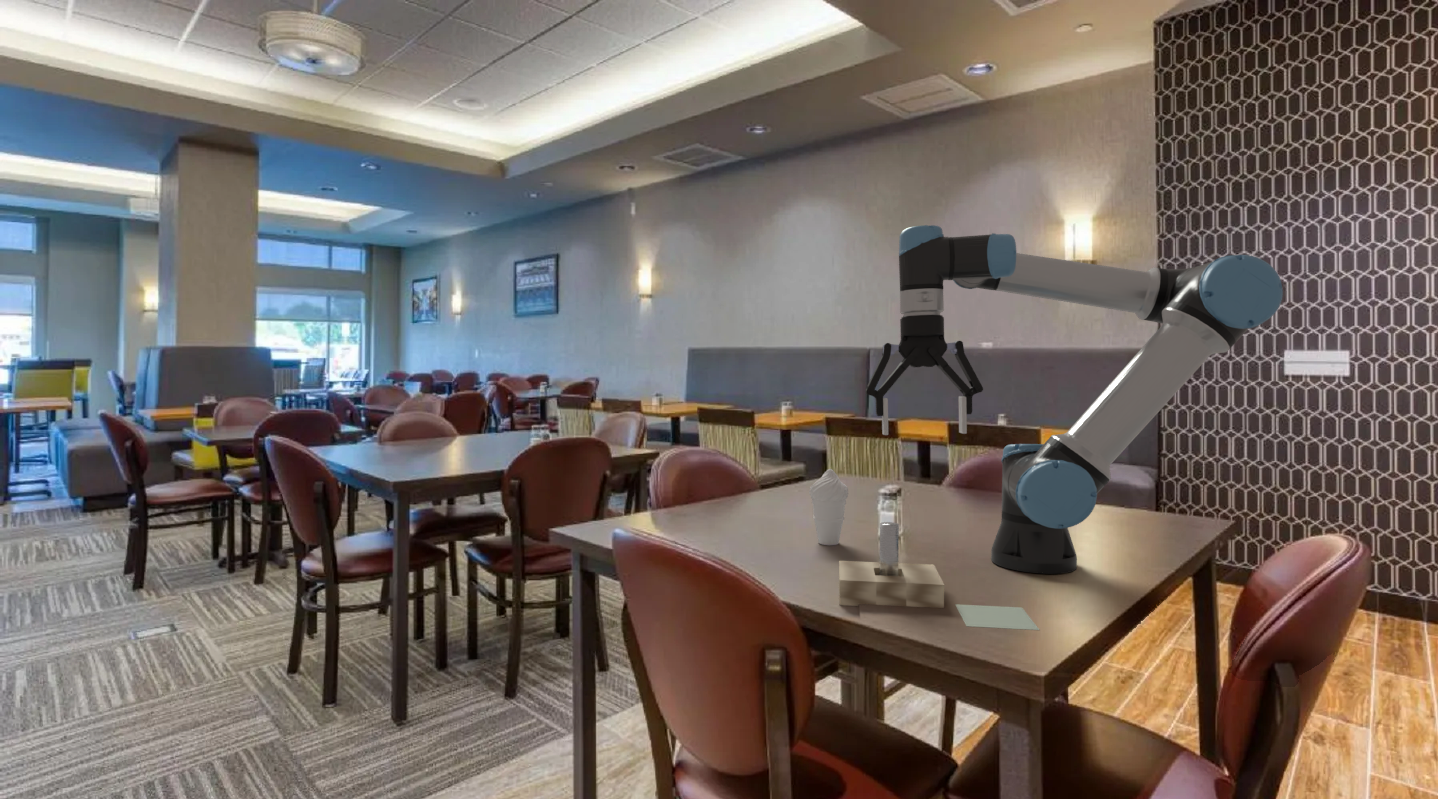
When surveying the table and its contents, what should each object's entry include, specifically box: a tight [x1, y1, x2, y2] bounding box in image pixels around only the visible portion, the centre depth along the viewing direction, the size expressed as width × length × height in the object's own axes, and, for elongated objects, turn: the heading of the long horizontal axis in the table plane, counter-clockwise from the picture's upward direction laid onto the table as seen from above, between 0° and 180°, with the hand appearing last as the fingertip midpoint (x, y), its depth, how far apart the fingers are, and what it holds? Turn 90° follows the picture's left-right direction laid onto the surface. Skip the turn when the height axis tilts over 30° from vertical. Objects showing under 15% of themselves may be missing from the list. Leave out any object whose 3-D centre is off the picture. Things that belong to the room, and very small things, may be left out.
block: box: [838, 560, 945, 609], centre depth 122 cm, size 16×12×4 cm
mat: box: [954, 603, 1040, 631], centre depth 111 cm, size 10×10×1 cm
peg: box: [879, 521, 900, 576], centre depth 122 cm, size 3×3×12 cm
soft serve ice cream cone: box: [808, 468, 849, 546], centre depth 159 cm, size 8×8×16 cm
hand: (923, 434), depth 133 cm, fingers open, 13 cm apart
